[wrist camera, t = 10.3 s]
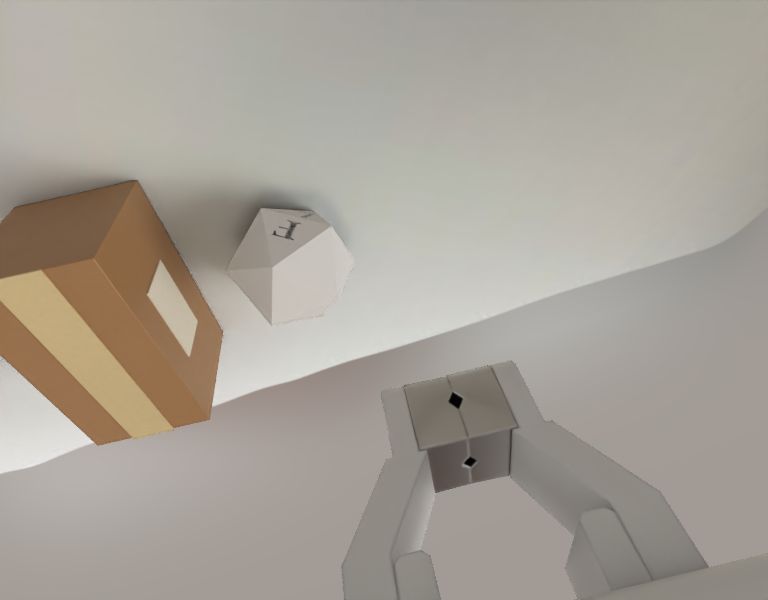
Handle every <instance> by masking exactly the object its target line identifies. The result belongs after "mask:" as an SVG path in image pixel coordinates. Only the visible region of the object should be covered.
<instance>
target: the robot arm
mask: <svg viewBox="0 0 768 600" xmlns="http://www.w3.org/2000/svg"><path fill="white" fill-rule="evenodd" d="M381 398H382V404H383V409H384V413H385V419H386V424H387V430H388V435H389V440H390V445H391V450H392V455H393V457H392V458H389V459H386V461H385V463H384V466H383V469H382V471H381V473H380V475H379V478H378V480H377V483H376V485H375V488H374V490H373V492H372V495H371V497H370V499H369V502H368V504H367V507H366V509H365V512H364V514H363V516H362V519H361V521H360V523H359V526H358V528H357V531H356V533H355V536H354V538H353V540H352V543H351V545H350V548H349V550H348V553H347V555H346V557H345V560H344V562H343V564H342V579H343V592H344V600H441V597H440V593H439V589H438V585H437V581H436V577H435V572H434V569H433V564H432V561H431V556H430V555H428V554H427V553H425V552H424V551H422V550H421V546H422V543H423V539H424V536H425V532H426V528H427V525H428V521H429V517H430V514H431V510H432V507H433V502H434V499H435V493H437V492H440V491H445V490H448V489H452V488H456V487H460V486H463V485H467V484H471V483H475V482H480V481H485V480H490V479H495V478H500V477H504V476H509V475H510V478H511V479H512V480H513V481H515V482H516V483H517V484H518V485H519V486H520V487H521V488H522V489H523V490H524V491H526V492H527V493H528V494H529V495H530V496H531V497H532V498H533V499H534V500H535V501H537V502H538V503H539V504H540V505H541V506H542V507H543V508H544V509H545V510H546V511H548V512H549V513H550V514H551V515H552V516H553V517H554V518H555V519H556V520H557V521H559V522H560V523H561V524H562V525H563V526H564V527H565V528H566V529H567V530H568V531H569V532H570V533H572V534H573V535H574V540H573V543H572V547H571V549H570V553H569V556H568V560H567V563H566V566H565V570H566V572H567V575H568V577H569V580H570V582H571V585H572V587H573V589H574V592H575V594H576V597H577V600H768V553H766V554H762V555H758V556H754V557H750V558H746V559H742V560H737V561H733V562H729V563H725V564H721V565H717V566H713V567H709V566H708V565H707V563H706V562H705V560H704V558H703V557H702V555H701V554H700V552H699V551H698V549H697V548H696V546H695V544H694V543H693V541H692V540H691V539H690V537H689V535H688V534H687V532H686V531H685V529H684V528H683V526H682V524H681V523H680V521H679V520H678V518H677V517H676V515H675V513H674V512H673V510H672V509H671V507H670V506H669V505H668V503H667V501H666V499H665V498H664V496H663V495H662V493H661V492H660V491H659V490H657V489H655V488H654V487H653V486H651V485H650V484H648V483H647V482H645V481H643V480H642V479H640V478H639V477H637V476H636V475H634V474H633V473H631V472H630V471H628V470H627V469H625V468H624V467H622V466H621V465H619V464H618V463H616V462H615V461H613V460H612V459H610V458H609V457H607V456H605V455H604V454H602V453H601V452H599V451H598V450H596V449H595V448H593V447H591V446H590V445H589V444H587V443H586V442H584V441H583V440H581V439H580V438H578V437H576V436H575V435H574V434H572V433H571V432H569V431H567V430H566V429H564V428H563V427H561V426H560V425H558V424H557V423H555V422H554V421H552V420H551V421H546V422H545V420H544V419H543V417H542V415H541V413H540V411H539V409H538V407H537V405H536V403H535V401H534V399H533V397H532V395H531V393H530V391H529V389H528V387H527V385H526V383H525V382H524V380H523V378H522V376H521V374H520V372H519V370H518V368H517V366H516V364H515V363H514V362H513V361H507V362H502V363H498V364H494V365H490V366H488V365H487V366H484V367H479V368H475V369H472V370H467V371H463V372H459V373H455V374H451V375H447V376H446V377H443V378H437V379H432V380H428V381H423V382H418V383H413V384H408V385H404V388H403V386H399V387H394V388H390V389H385V390H381Z"/></svg>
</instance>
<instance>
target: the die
mask: <svg viewBox="0 0 768 600" xmlns="http://www.w3.org/2000/svg"><path fill="white" fill-rule="evenodd" d="M354 263H355V260H354V259H353V257H352V256H351V254H350V253H349V251H348V250H347V248H346V247H345V245H344V244H343V242H342V241H341V239H340V238H339V236H338V235H337V233H336V232H335V230H334V229H333V227H332V226H331V225H330V224H329V223H328V222H326V221H325V220H324V219H323V218H321V217H320V216H319V215H318V214H316V213H315V212H314V211H302V210H297V211H296V210H285V209H268V208H261V209H260V211H259V212H258V214H257V216H256V218H255V219H254V221H253V223H252V225H251V226H250V228H249V230H248V232H247V233H246V235H245V237H244V239H243V240H242V242H241V244H240V246H239V247H238V249H237V251H236V252H235V254H234V256H233V258H232V259H231V261H230V263H229V265H228V266H227V268H226V270H225V271H226V272H227V273H228V274H229V276H230V277H231V278H232V279H233V280H234V282H235V283H236V284H237V285H238V286H239V287H240V289H241V290H242V291H243V292H244V293H245V295H246V296H247V297H248V298H249V299H250V301H251V302H252V303H253V304H254V305H255V307H256V308H257V309H258V310H259V311H260V312H261V314H262V315H263V316H264V317H265V318H266V320H267V321H268V322H269V323H270V324H271V326H273V325H278V324H283V323H288V322H293V321H298V320H303V319H308V318H313V317H318V316H322V315H323V314H324V313H325V312H326V311H327V310H328V309H329V308H330V307H331V306H332V305H333V304H334V303H335V302H336V300H337V299H338V297H339V295H340V293H341V291H342V289H343V287H344V284H345V282H346V280H347V278H348V276H349V274H350V272H351V270H352V268H353V265H354Z"/></svg>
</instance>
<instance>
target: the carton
mask: <svg viewBox="0 0 768 600" xmlns="http://www.w3.org/2000/svg"><path fill="white" fill-rule="evenodd" d="M222 336H223V331H222V330H221V328H220V326H219V324H218V322H217V321H216V319H215V317H214V315H213V314H212V312H211V310H210V308H209V306H208V305H207V303H206V301H205V299H204V298H203V296H202V294H201V292H200V291H199V289H198V287H197V285H196V283H195V282H194V280H193V278H192V276H191V275H190V273H189V271H188V269H187V268H186V266H185V264H184V262H183V260H182V259H181V257H180V255H179V253H178V252H177V250H176V248H175V246H174V244H173V243H172V241H171V239H170V237H169V236H168V234H167V232H166V230H165V229H164V227H163V225H162V223H161V221H160V220H159V218H158V216H157V214H156V213H155V211H154V209H153V207H152V206H151V204H150V202H149V200H148V198H147V197H146V195H145V193H144V191H143V190H142V188H141V186H140V184H139V182H138V181H137V180H135V181H131V182H126V183H122V184H117V185H113V186H108V187H104V188H99V189H95V190H90V191H86V192H81V193H77V194H73V195H68V196H64V197H59V198H55V199H50V200H46V201H41V202H37V203H32V204H28V205H23V206H19V207H15V208H14V209H13V210H12V211H11V212H10V213H9V214H8V215H7V217H6V218H5V219H4V220H3V221H2V222H1V223H0V355H1V356H2V357H3V358H4V359H5V360H6V361H7V362H8V363H9V364H10V365H11V366H13V367H14V368H15V369H16V370H17V371H18V372H19V373H20V374H21V375H22V376H23V377H24V378H26V379H27V380H28V381H29V382H30V383H31V384H32V385H33V386H34V387H35V388H36V389H37V390H38V391H40V392H41V393H42V394H43V395H44V396H45V397H46V398H47V399H48V400H49V401H50V402H51V403H52V404H54V405H55V406H56V407H57V408H58V409H59V410H60V411H61V412H62V413H63V414H64V415H65V416H67V417H68V418H69V419H70V420H71V421H72V422H73V423H74V424H75V425H76V426H77V427H78V428H79V429H81V430H82V431H83V432H84V433H85V434H86V435H87V436H88V437H89V438H90V439H91V440H92V441H93V442H95V443H96V444H97V445H103V444H107V443H111V442H116V441H120V440H124V439H128V438H133V439H137V438H141V437H146V436H150V435H154V434H158V433H162V432H167V431H171V430H174V428H176V427H180V426H184V425H188V424H193V423H197V422H202V421H206V420H209V419H210V414H211V408H212V401H213V395H214V388H215V382H216V375H217V369H218V362H219V356H220V349H221V343H222Z"/></svg>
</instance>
